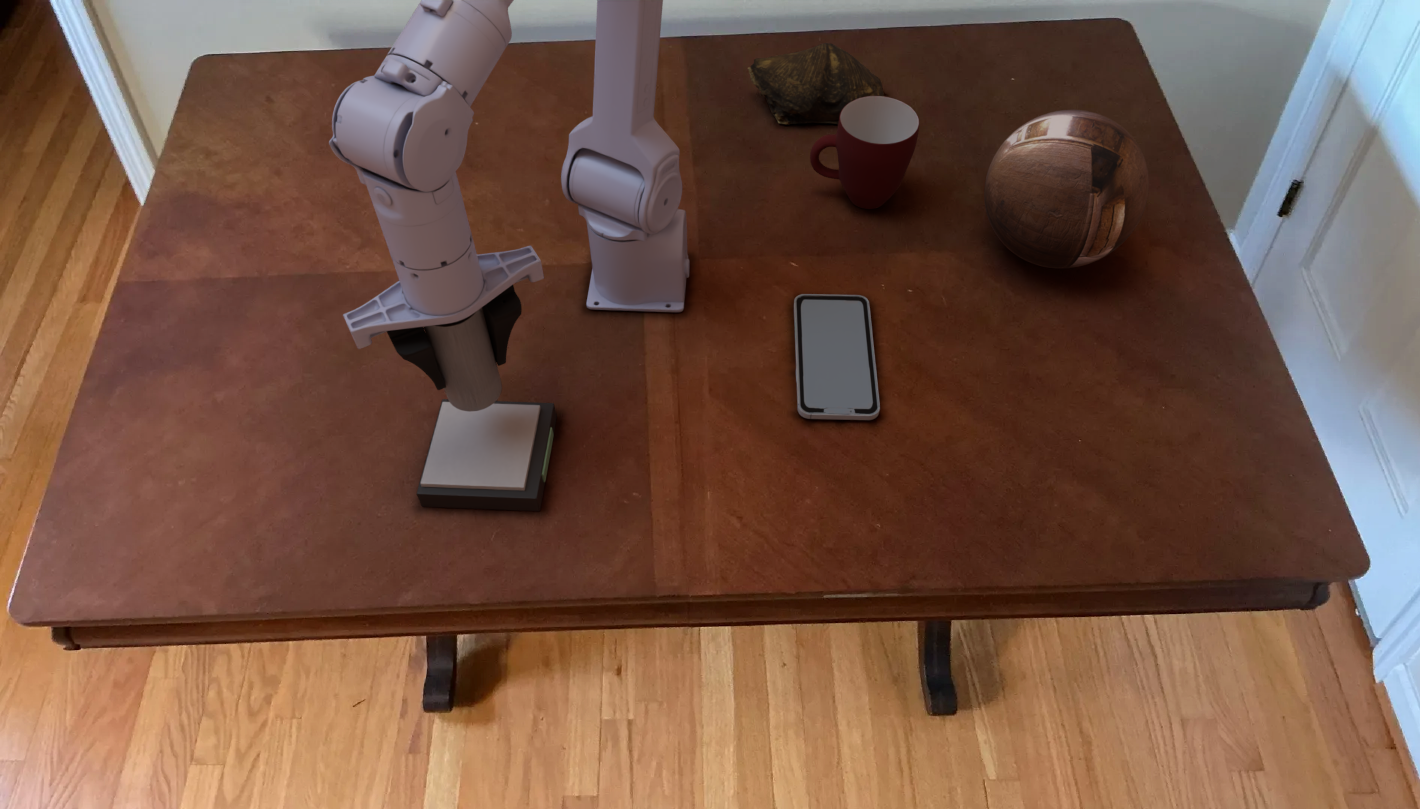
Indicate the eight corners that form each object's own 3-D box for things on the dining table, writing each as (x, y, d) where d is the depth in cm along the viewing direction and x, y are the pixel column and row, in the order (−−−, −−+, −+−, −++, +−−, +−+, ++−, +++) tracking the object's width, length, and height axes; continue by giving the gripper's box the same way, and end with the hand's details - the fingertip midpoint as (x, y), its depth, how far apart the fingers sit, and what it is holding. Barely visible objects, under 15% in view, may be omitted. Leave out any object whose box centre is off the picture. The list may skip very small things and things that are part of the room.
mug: (809, 223, 105) (817, 145, 97) (804, 173, 110) (811, 95, 102) (909, 222, 105) (925, 144, 97) (900, 172, 110) (914, 94, 102)
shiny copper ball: (965, 195, 108) (996, 73, 96) (1106, 203, 107) (1155, 81, 95) (976, 295, 98) (1012, 174, 87) (1131, 304, 98) (1188, 183, 86)
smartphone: (868, 295, 97) (881, 415, 88) (867, 301, 98) (880, 421, 89) (793, 293, 97) (797, 414, 88) (792, 299, 98) (797, 420, 89)
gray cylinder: (508, 403, 81) (485, 316, 73) (453, 419, 80) (423, 332, 72) (495, 363, 84) (472, 275, 76) (441, 378, 83) (412, 291, 75)
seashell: (880, 76, 120) (891, 32, 114) (886, 135, 117) (898, 94, 110) (745, 75, 120) (748, 31, 114) (746, 135, 116) (750, 93, 110)
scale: (558, 416, 89) (555, 399, 87) (541, 511, 83) (537, 495, 81) (446, 412, 90) (440, 395, 88) (421, 506, 84) (414, 490, 82)
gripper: (505, 175, 74) (532, 304, 84) (311, 242, 69) (365, 369, 80) (544, 232, 70) (567, 359, 80) (341, 307, 65) (393, 430, 76)
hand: (468, 368), depth 80 cm, fingers closed on gray cylinder, 4 cm apart
